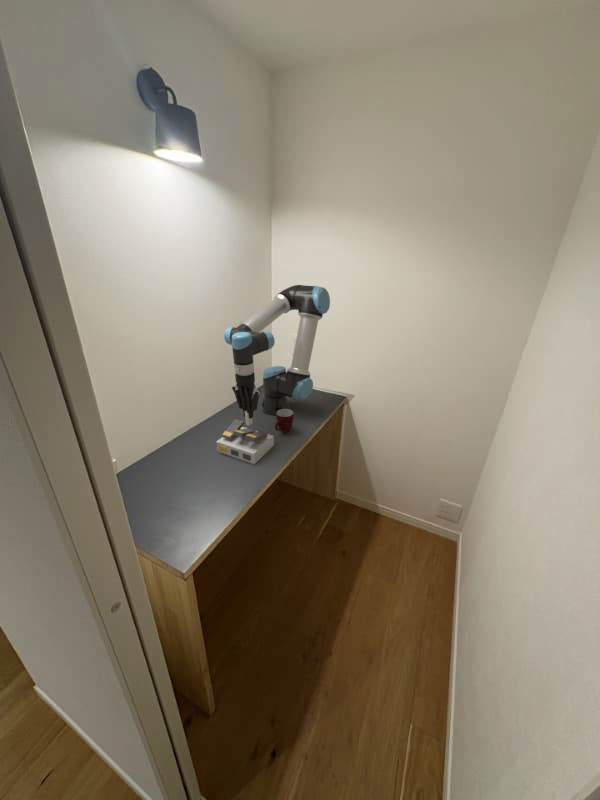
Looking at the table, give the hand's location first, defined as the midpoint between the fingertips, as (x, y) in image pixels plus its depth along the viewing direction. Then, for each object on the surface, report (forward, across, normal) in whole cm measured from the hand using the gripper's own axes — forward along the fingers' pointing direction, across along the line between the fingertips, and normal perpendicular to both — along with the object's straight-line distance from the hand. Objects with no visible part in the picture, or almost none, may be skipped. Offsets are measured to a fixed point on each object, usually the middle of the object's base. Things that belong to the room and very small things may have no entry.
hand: (249, 423), depth 134 cm
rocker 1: (+3, -6, -4) cm, 7 cm away
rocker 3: (+3, +6, -4) cm, 7 cm away
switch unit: (+11, 0, -4) cm, 11 cm away
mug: (+11, +8, +15) cm, 21 cm away
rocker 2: (+3, 0, -4) cm, 4 cm away
